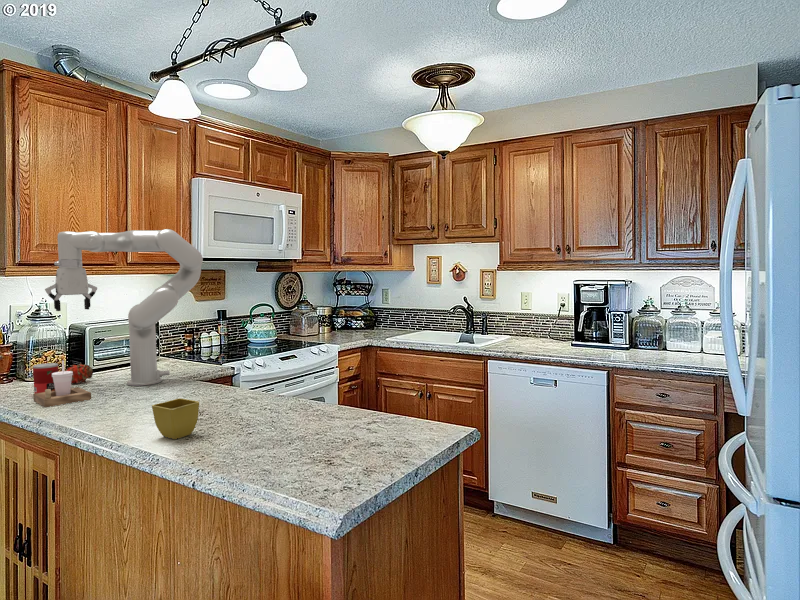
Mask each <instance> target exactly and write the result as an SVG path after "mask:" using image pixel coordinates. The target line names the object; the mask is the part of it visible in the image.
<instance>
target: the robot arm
mask: <svg viewBox="0 0 800 600" xmlns="http://www.w3.org/2000/svg"><path fill="white" fill-rule="evenodd" d="M82 251H89V252H93V253H105V252H107V253H108V252H109V253H110V252H112V253H114V252H125V253H139V252H140V253H143V252H144V253H145V252H150V253H151V252H158V253H159V252H165V253H167V254H168V255H169V256H170V257H171V258H173V260H174V261H176V262H177V263H179V269H178V271H176V273H175V274H174V275H173V276H172V277H171V278H169V279H168V280H167V281H166V282H165V283H163V284H161V286H159V287H157V288H155V289H154V291H153V292H152V293H151V294H150V295H148V296H147V297H146V298H145V299H143V300H142V301H141V302H140V303H138V304H135V305H133V306H132V307H131V308H130V310H129V311H128V314H127V319H128V332H129V336H128V337H129V339H128V340H129V359H130V379H129V380H127V381H126V385H127V386H132V387H133V386H135V387H136V386H137V387H141V386H149V385H155V384H159V383H162V376H163V377H164V376H165V377H166V376H169V375H170V374H171V373H170V370H168V369H167V370H159V369H158V363H157V362H158V361H157V359H158V358H157V336H156V334H157V332H156V330H157V329H156V324H157V323H158V322H159V321H161V320H162V319H163V318H164V317H165V316H167V315H168V314H169V313H170V312H171V311H172V310H174V309H175V308H176V306H177V304H178V302H179V300H180V299H182V298H183V297H184V296H185V295H186V294H188V292H190V290H192V289H193V288H194V287H195V286H196V285H197V283H198V282H199V280H200V277H201V273H202V264H203V261H204V260H203V259H204V257H203V254H202V253H201V252H200V251H199V249H197V248H195V246H194V245H192V244H191V243H189V242H188V240H186V239H185V238H183V237H182V235H180V234H179V233H178V232H176V231H175V230H173V229H170V228H165V229H160V230H159V229H157V230H155V229H153V230H151V229H149V230H147V229H145V230H143V229H142V230H140V229H139V230H138V229H137V230H135V229H133V230H126V231H121V232H97V231H94V230H91V231H90V230H87V231H81V232H79V231H59V232H58V234H57V253H58V260H57V261H54V263H53V264H54V266H57V267H58V268H56V273H55V283H54V284H52V285H50V286H48V287H45V288H44V292H45V293H46V294H47V296H48V297H49V298H51V299H52V300H53V307H54V310H55V311H56V312H61V300H60V298H61V297H62V296H73V295H74V296H76V295H78V296H79V295H82V296H83V297H84V299H83V304H84V305H83V306H84V310H90V308H91V299H92V297H94V296H95V294H96V292H97V290H98V287H97V286H95V285H93V284H90V283H88V282H89V280H88V275H87V271H86V268H85V267H84V268H83V256H82V255H83V254H82V253H83V252H82ZM54 289H55V294H54V293H53V292H52V290H54ZM89 289H90V290H91V291H90V290H89ZM89 291H90V292H89Z"/></svg>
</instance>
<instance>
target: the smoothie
mask: <svg viewBox="0 0 800 600" xmlns="http://www.w3.org/2000/svg"><path fill="white" fill-rule="evenodd" d="M61 364H62V365H61V367H62V369H61V371H59V372H55V373H52V377H53V381H54V386H55V391H56V396H62V395H68V394H70V392H71V388H72V384H71V383H72V382H71V381H72V375H73V372H72V371H66V370H65V360H61Z"/></svg>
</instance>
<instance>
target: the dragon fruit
mask: <svg viewBox="0 0 800 600" xmlns="http://www.w3.org/2000/svg"><path fill="white" fill-rule="evenodd" d="M65 371H72V372H73V375H72V381H71V383H74V384H77V383H79V384H81V383H82V382H84V383H86V382H87V379H92V378H93V374H94V369H93V368H92V367H91V366H90V365H87V364H82V363H81V362H80V363H78V364H77V365H76V364H72V365H71V366H70V367H67V368H66V369H65Z"/></svg>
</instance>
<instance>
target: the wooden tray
mask: <svg viewBox="0 0 800 600" xmlns="http://www.w3.org/2000/svg"><path fill="white" fill-rule="evenodd" d="M90 399H91V400H92V393H91V392H90V391H88V390H86V389H83V388H81V387H79V386H76V387H71V392H70V394H68V395H62V396H56V391H51V389H46V390H45V392H42V393H35V394H34V393H33V402H35V403H37V404H38V405H40V406H41V407H43V408H49V407H50V406H51V407H56V406H55V405H57V406H62V405H61V404H63V405H67V404H66V403H69V404H73V403H72V402H75V403H79V402H78V401H81V402H85V401H84V400H87V401H91V400H90Z"/></svg>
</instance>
